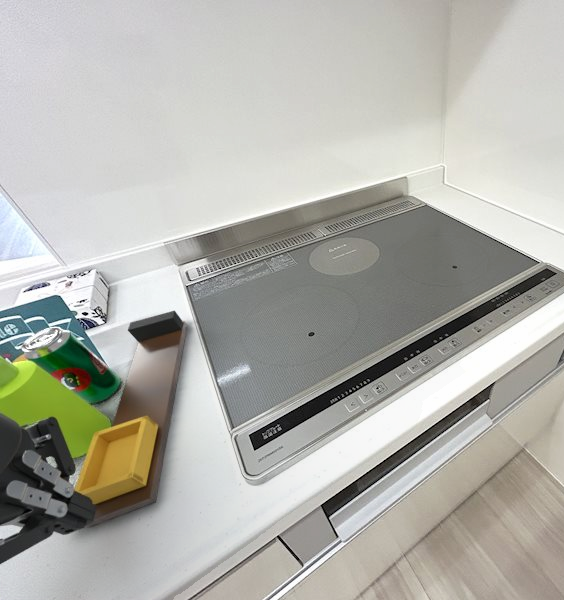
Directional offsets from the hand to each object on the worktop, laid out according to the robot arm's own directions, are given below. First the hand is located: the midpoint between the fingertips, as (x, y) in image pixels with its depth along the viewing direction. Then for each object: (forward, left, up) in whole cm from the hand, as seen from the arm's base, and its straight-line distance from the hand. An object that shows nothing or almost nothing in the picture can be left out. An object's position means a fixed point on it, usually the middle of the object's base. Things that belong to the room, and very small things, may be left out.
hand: (84, 519), depth 33 cm
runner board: (+15, +9, -5) cm, 18 cm away
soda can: (+16, +18, -5) cm, 24 cm away
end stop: (+27, +16, -4) cm, 32 cm away
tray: (+6, +4, -3) cm, 8 cm away
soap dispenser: (+9, +14, -5) cm, 18 cm away
